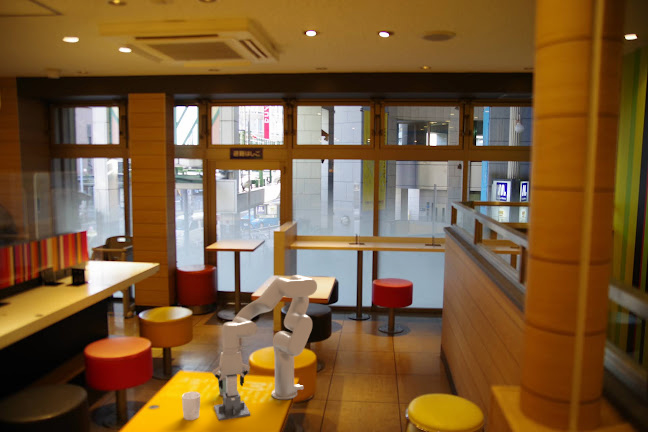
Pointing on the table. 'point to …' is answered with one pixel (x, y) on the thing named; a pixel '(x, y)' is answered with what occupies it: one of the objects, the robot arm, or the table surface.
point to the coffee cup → (223, 384)
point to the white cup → (191, 405)
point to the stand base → (231, 408)
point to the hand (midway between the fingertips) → (231, 386)
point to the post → (231, 385)
